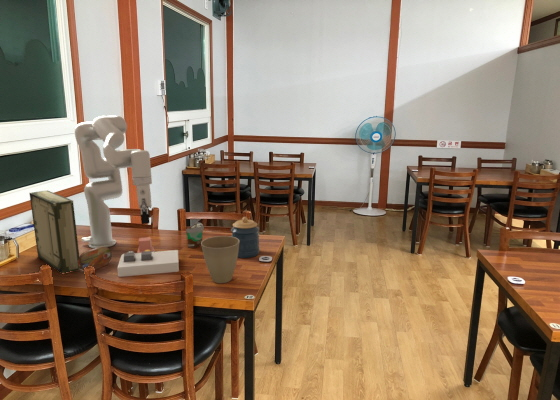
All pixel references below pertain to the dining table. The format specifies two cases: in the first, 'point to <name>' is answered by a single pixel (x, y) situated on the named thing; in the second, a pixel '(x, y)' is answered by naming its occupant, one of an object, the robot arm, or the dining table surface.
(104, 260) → the tin
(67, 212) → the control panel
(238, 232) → the canister
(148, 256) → the tagged breaker button
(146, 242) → the cap
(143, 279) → the dining table surface
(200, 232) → the food container
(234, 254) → the plant pot
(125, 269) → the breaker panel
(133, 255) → the block
